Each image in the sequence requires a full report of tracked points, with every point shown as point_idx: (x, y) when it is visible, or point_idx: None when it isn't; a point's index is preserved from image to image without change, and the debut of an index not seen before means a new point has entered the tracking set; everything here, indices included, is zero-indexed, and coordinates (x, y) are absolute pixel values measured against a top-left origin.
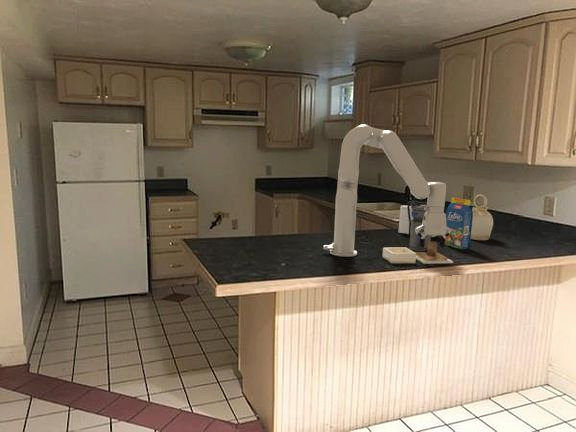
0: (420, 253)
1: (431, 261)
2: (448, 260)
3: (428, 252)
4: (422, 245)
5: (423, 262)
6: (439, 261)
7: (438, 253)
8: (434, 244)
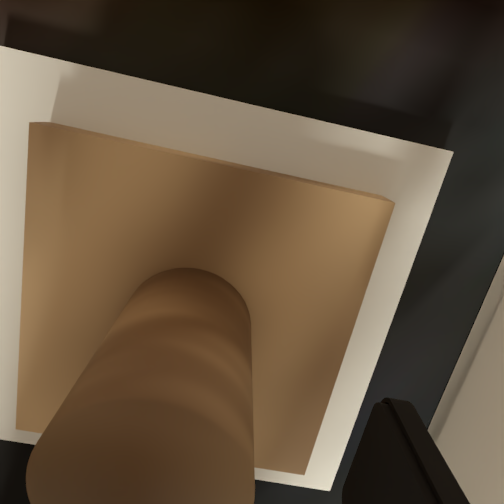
0: (282, 423)
1: (331, 138)
2: (33, 117)
3: (250, 342)
4: (418, 439)
5: (444, 161)
6: (211, 105)
7: (27, 371)
8: (166, 376)
